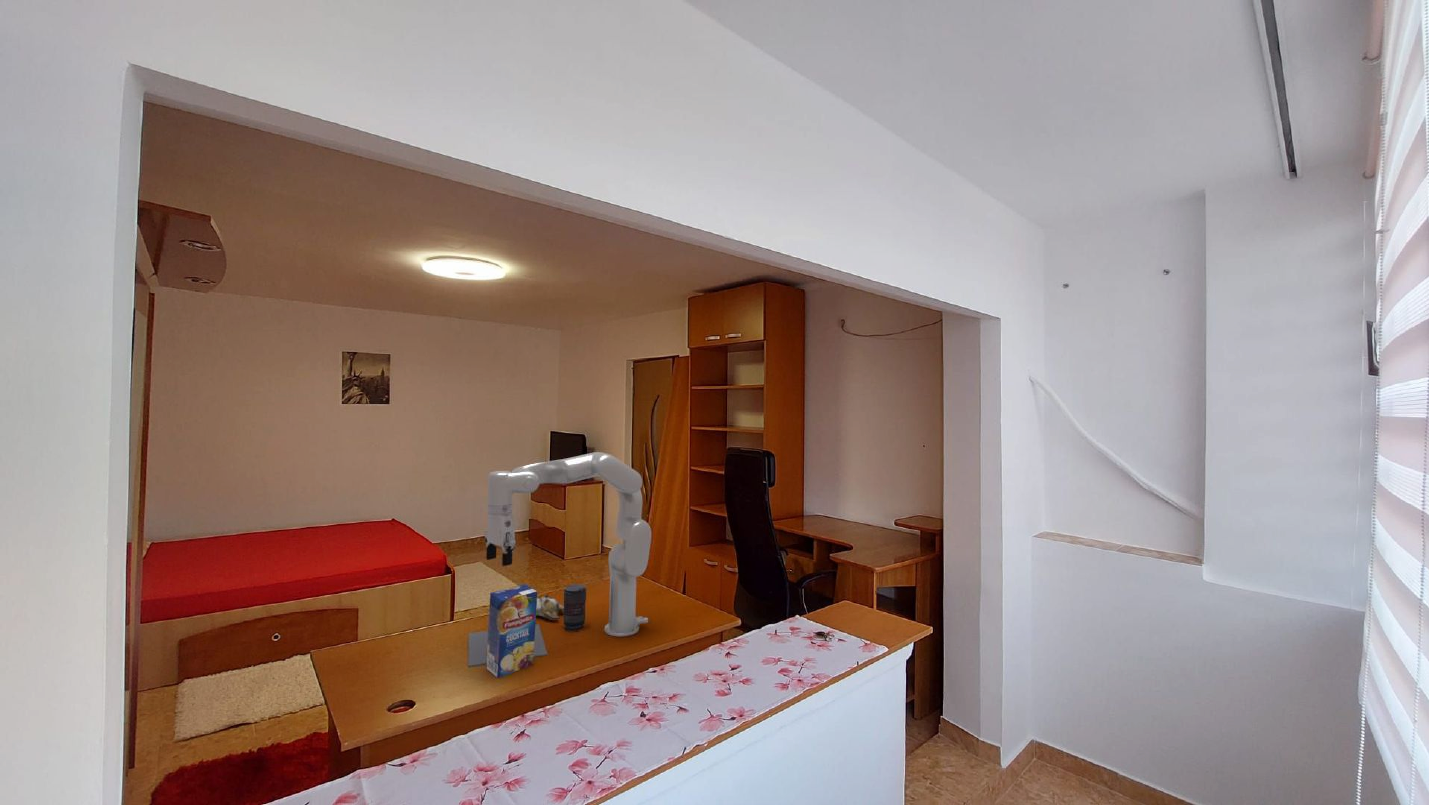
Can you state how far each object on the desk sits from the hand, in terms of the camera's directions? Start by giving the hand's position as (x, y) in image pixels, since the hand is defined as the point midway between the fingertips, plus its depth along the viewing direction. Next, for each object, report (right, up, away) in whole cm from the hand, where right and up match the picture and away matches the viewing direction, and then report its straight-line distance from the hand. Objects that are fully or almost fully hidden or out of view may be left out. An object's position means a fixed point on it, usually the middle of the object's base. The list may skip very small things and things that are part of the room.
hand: (499, 562), depth 183 cm
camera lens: (+18, -32, +26) cm, 45 cm away
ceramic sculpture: (+5, -32, +36) cm, 48 cm away
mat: (-2, -31, +11) cm, 33 cm away
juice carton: (+5, -32, -5) cm, 33 cm away
